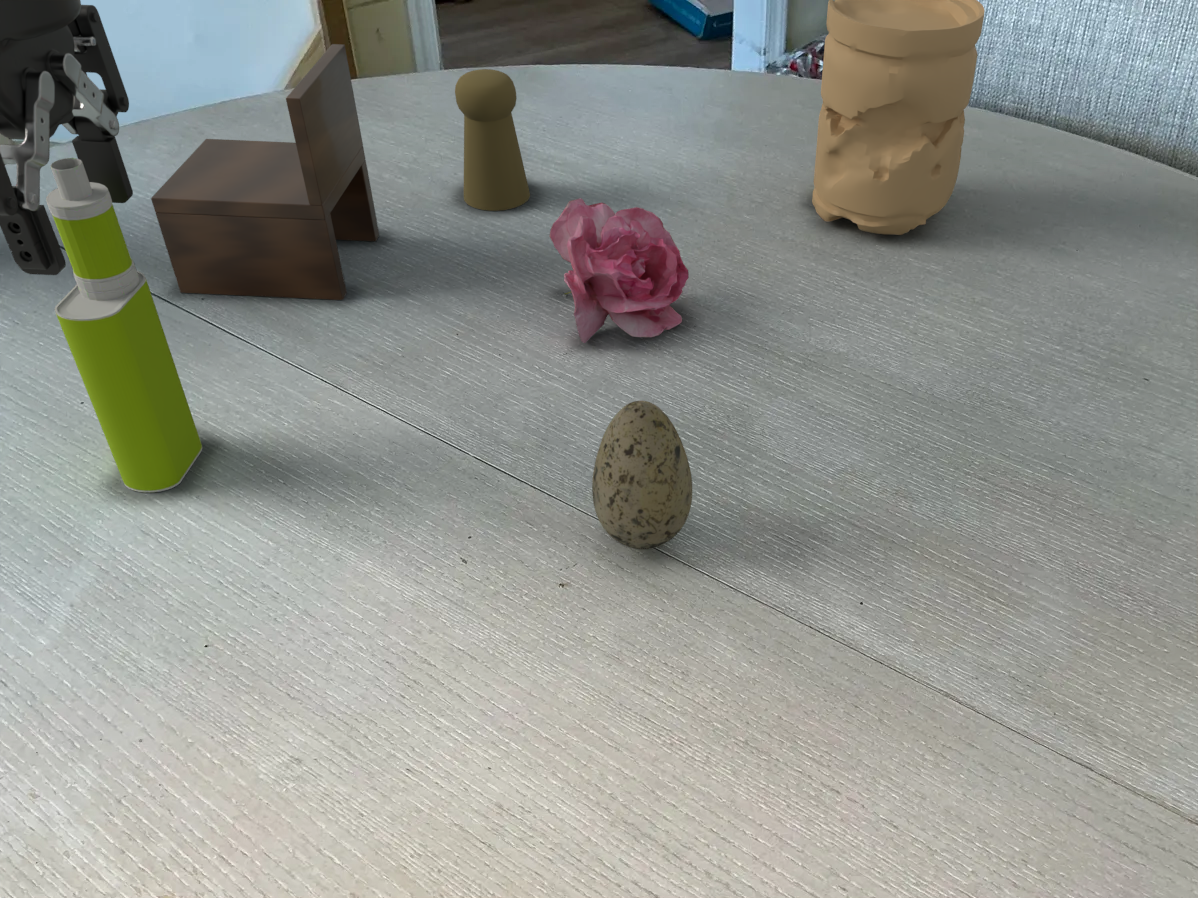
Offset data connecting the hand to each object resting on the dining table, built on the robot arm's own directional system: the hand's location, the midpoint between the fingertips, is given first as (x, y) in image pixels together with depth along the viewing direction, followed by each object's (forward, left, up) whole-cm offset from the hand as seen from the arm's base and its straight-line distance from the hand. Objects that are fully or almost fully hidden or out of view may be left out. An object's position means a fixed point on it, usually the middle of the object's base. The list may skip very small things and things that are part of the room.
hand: (81, 234), depth 66 cm
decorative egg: (+32, -5, -16) cm, 36 cm away
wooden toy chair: (-1, +27, -16) cm, 32 cm away
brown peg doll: (+14, +41, -16) cm, 46 cm away
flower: (+28, +21, -16) cm, 39 cm away
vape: (0, 0, -16) cm, 17 cm away
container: (+49, +41, -16) cm, 66 cm away
